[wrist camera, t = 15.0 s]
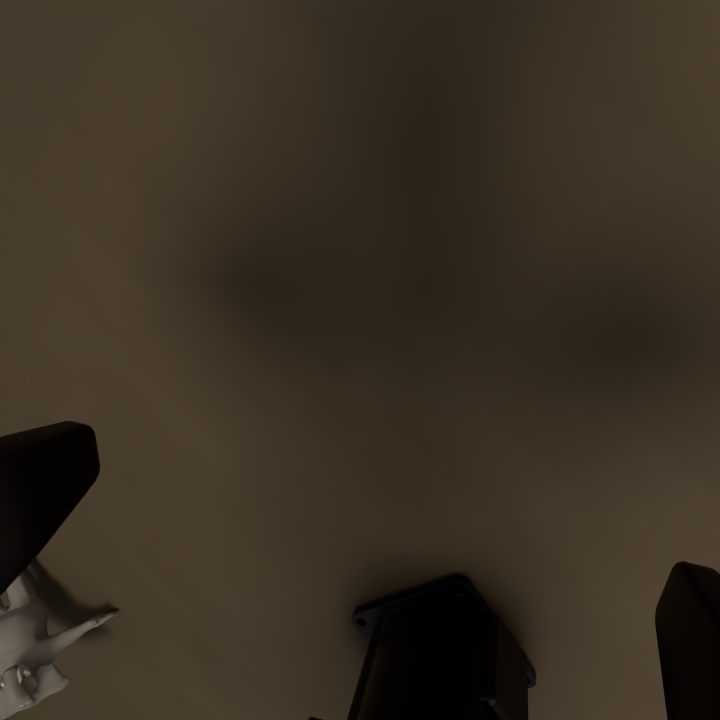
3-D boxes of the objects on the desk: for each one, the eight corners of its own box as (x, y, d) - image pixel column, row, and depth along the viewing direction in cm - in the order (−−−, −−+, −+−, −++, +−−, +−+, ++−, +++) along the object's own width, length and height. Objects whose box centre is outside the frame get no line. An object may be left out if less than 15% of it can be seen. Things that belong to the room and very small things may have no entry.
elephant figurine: (61, 509, 29) (118, 668, 27) (92, 508, 35) (140, 639, 33) (-146, 599, 26) (-95, 781, 25) (-75, 581, 32) (-30, 729, 30)
